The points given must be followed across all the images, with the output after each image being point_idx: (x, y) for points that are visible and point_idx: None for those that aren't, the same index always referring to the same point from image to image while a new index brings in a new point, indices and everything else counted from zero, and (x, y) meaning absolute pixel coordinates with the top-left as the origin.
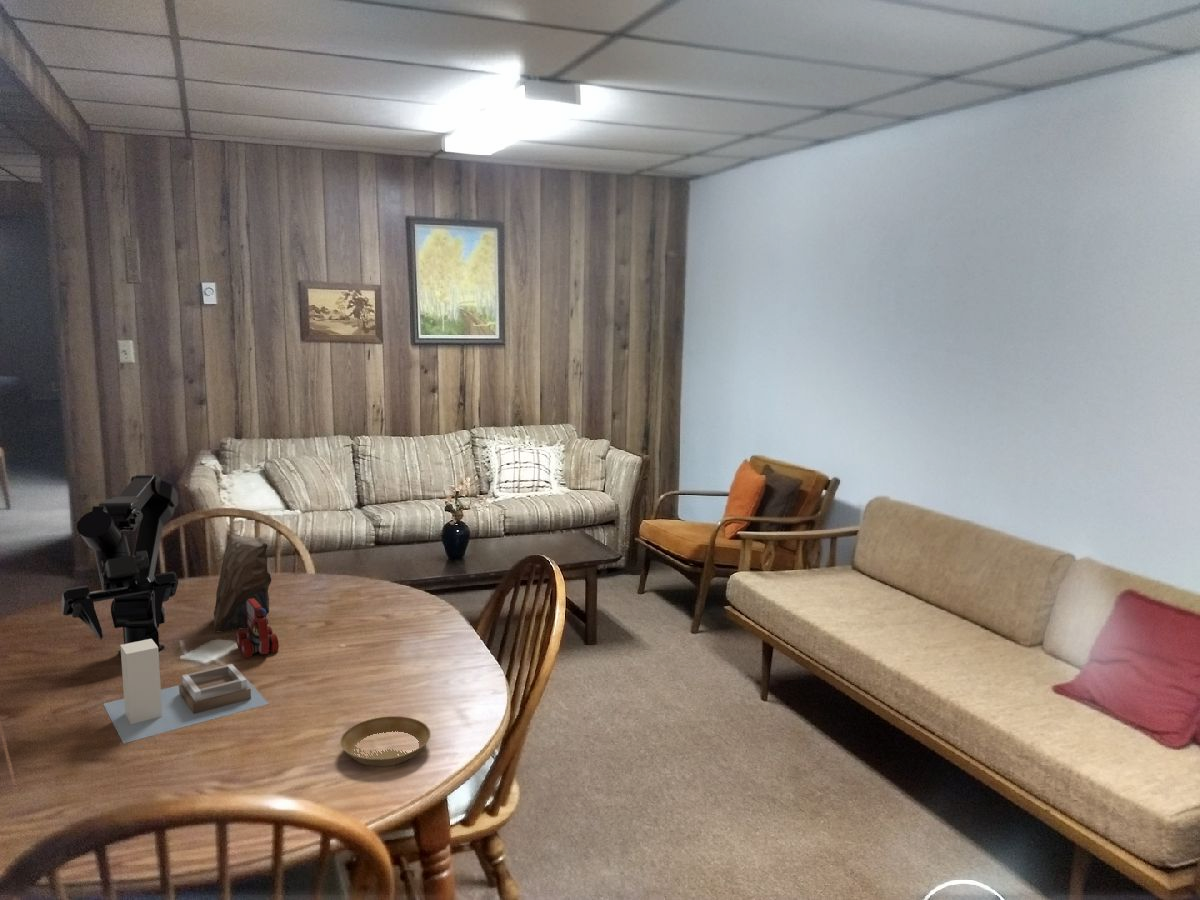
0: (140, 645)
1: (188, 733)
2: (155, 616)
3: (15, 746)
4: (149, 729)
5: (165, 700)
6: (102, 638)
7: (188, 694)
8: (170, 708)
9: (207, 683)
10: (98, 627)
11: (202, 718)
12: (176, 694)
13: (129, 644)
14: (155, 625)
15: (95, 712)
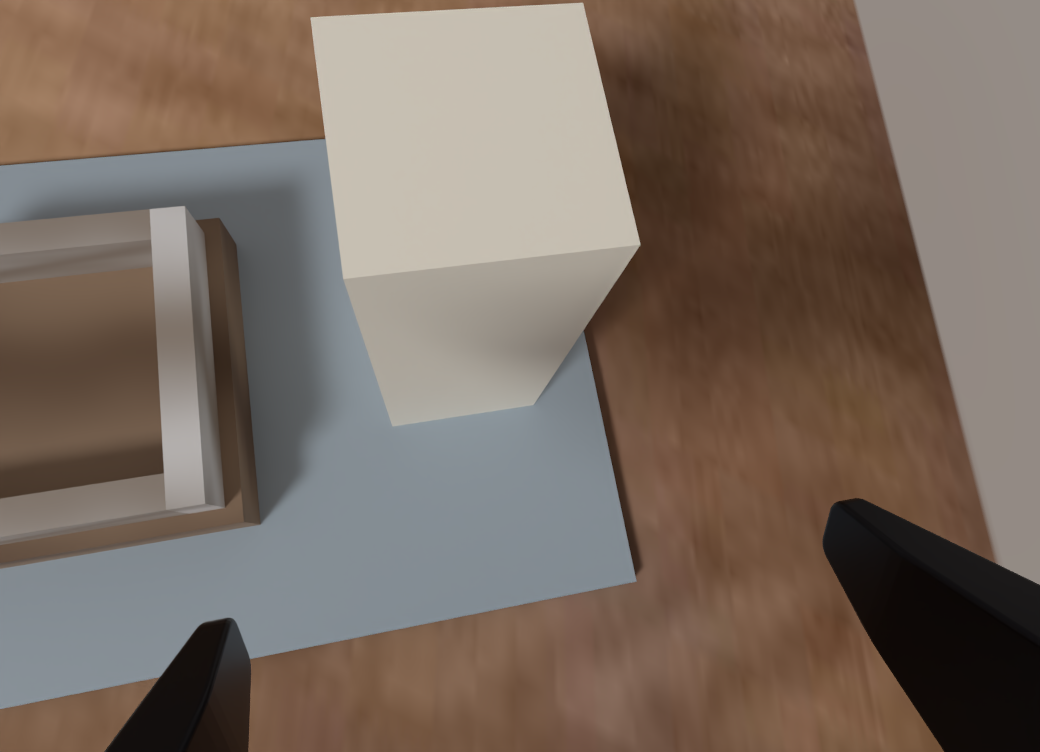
0: (461, 140)
1: (290, 109)
2: (191, 731)
3: (919, 327)
4: None
5: (341, 471)
6: (825, 529)
7: (219, 343)
8: (329, 359)
9: (84, 451)
10: (953, 567)
11: (208, 179)
12: (276, 526)
13: (559, 215)
14: (245, 702)
15: (661, 521)
